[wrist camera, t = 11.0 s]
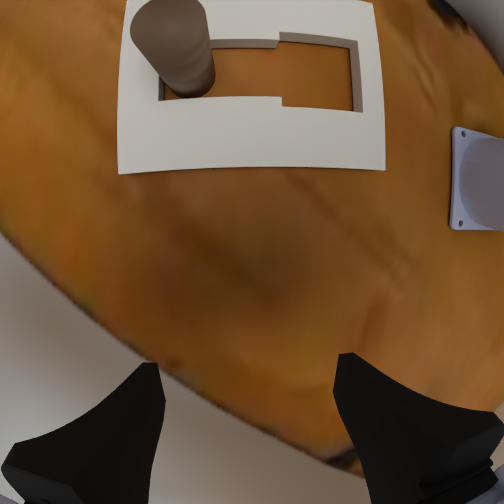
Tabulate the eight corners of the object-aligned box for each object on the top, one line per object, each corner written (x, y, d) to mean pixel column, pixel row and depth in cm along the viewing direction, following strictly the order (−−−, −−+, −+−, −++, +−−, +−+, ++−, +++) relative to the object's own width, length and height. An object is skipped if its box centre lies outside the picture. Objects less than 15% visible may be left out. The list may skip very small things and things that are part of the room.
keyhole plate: (364, 11, 16) (372, 3, 14) (374, 169, 19) (385, 170, 18) (133, 8, 15) (127, -1, 13) (126, 173, 18) (118, 174, 16)
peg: (215, 54, 16) (207, -10, 9) (215, 97, 17) (205, 50, 9) (167, 57, 16) (133, -1, 8) (166, 100, 17) (127, 60, 9)
